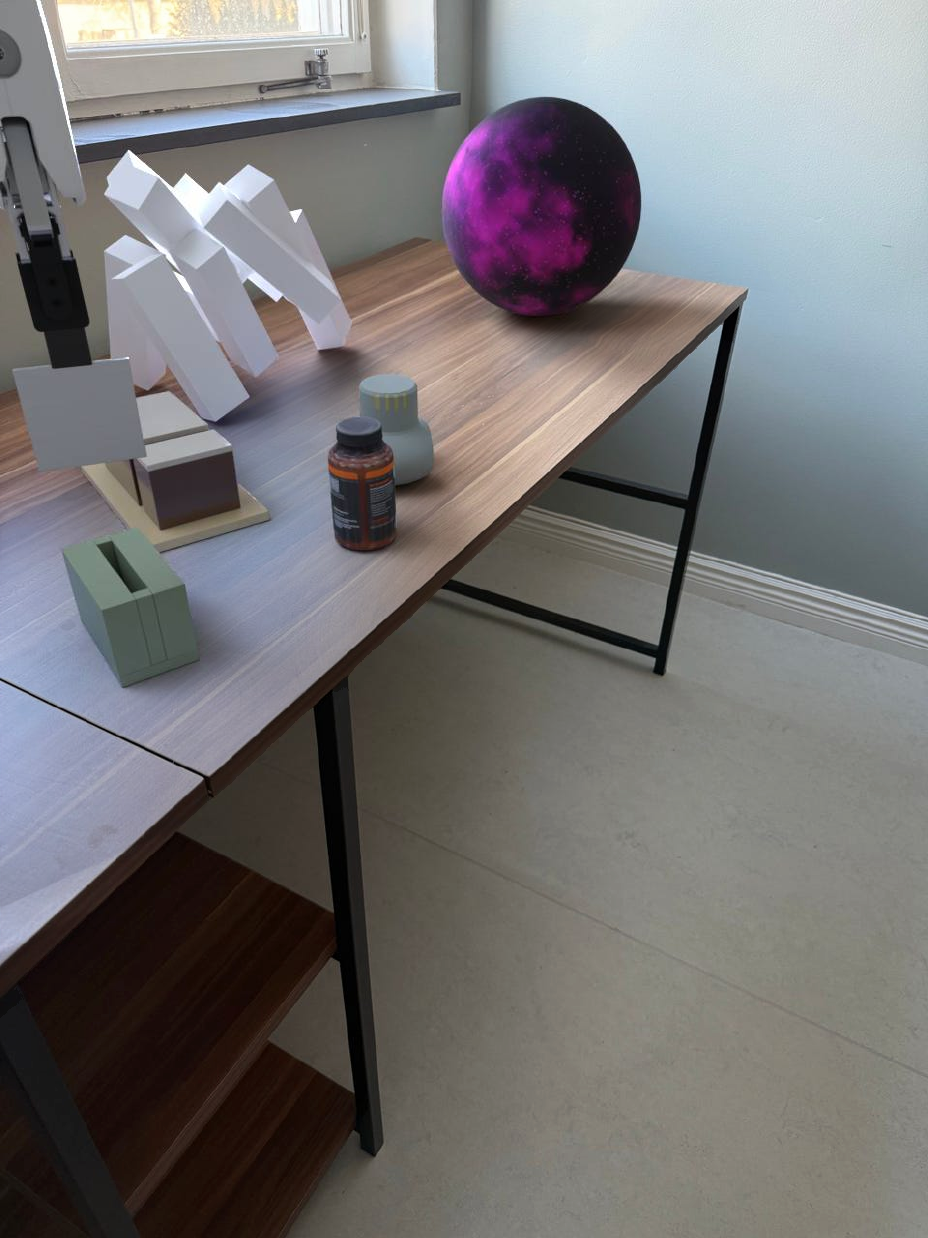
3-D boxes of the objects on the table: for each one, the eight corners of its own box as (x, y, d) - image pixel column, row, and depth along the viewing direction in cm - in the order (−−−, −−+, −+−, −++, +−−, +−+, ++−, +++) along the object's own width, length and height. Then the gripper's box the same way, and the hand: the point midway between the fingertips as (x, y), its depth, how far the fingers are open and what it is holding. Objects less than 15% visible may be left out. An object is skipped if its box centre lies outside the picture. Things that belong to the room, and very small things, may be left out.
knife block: (200, 659, 68) (185, 583, 64) (122, 688, 65) (101, 610, 61) (154, 598, 75) (138, 526, 71) (81, 622, 72) (60, 548, 68)
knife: (144, 451, 63) (109, 258, 55) (148, 460, 62) (112, 264, 54) (38, 466, 60) (-15, 266, 53) (39, 476, 59) (-14, 273, 52)
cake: (148, 555, 80) (132, 480, 76) (82, 473, 93) (65, 404, 89) (270, 519, 86) (261, 447, 82) (192, 446, 99) (180, 381, 95)
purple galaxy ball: (420, 331, 133) (418, 102, 116) (463, 280, 157) (467, 83, 140) (619, 350, 128) (649, 113, 111) (633, 294, 152) (659, 92, 135)
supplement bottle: (406, 528, 85) (404, 416, 79) (382, 558, 81) (377, 443, 74) (350, 517, 87) (343, 407, 80) (322, 546, 82) (312, 432, 75)
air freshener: (436, 495, 91) (437, 401, 85) (356, 500, 90) (350, 406, 84) (422, 450, 100) (421, 362, 94) (348, 454, 98) (342, 366, 92)
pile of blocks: (236, 358, 138) (76, 139, 114) (404, 297, 126) (266, 39, 102) (163, 516, 116) (-53, 287, 92) (357, 460, 105) (169, 182, 81)
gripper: (65, -45, 40) (142, 355, 51) (42, -40, 52) (109, 285, 62) (-123, -51, 38) (-1, 372, 48) (-103, -45, 49) (-8, 295, 60)
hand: (60, 321), depth 55 cm, fingers closed on knife, 1 cm apart
